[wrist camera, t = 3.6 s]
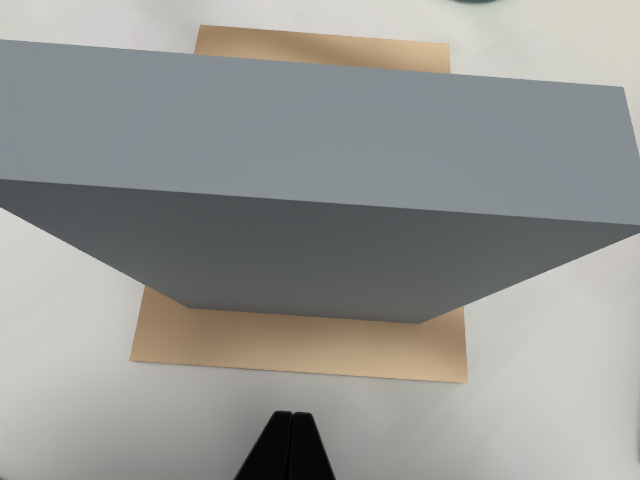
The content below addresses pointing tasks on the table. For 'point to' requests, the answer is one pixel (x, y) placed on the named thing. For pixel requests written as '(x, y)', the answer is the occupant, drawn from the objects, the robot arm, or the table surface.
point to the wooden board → (303, 331)
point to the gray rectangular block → (312, 177)
